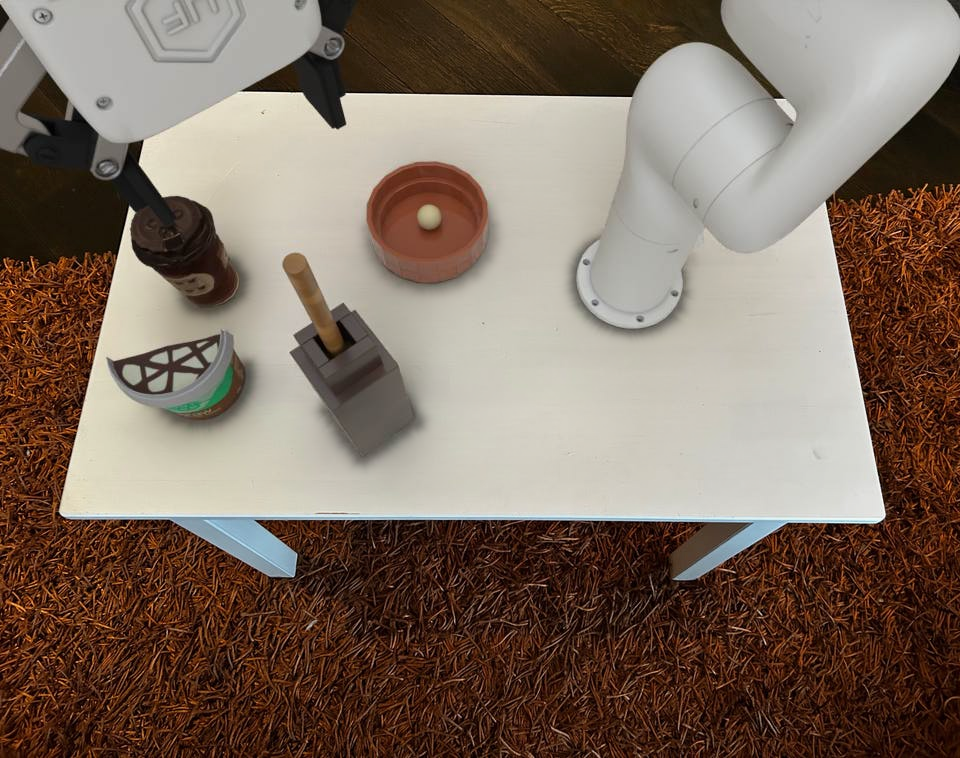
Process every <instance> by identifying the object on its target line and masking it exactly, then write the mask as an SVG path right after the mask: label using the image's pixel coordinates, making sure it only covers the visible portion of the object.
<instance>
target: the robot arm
mask: <svg viewBox="0 0 960 758" xmlns="http://www.w3.org/2000/svg"><path fill="white" fill-rule="evenodd" d="M358 2H359V0H0V6H1V7H2V8H3V10H4V11H5V13H6V14H7V16H8V19H7V22H6V23H5V24H4V25H3V27H2V29H1V30H0V150H4V151H7V152H10V153H12V154H15V155H16V154H19V155H22V156H25V157H28V159H29V160H30V161H31V162H32V163H33V164H34V165H38V166H42V167H49V168H61V169H68V170H77V171H87V172H91V173H92V175H93V176H94V177H95V178H96V179H97V180H101V181H109V183H110V184H111V185H112V186H113V188H114V189H115V190H116V191H117V192H118V194H119V195H120V196H121V197H122V198H123V200H124V201H125V202H126V203H127V204H128V206H129V208H131V209H132V211H133V212H134V214H135V213H136V212H138V211H140V210H142V209H143V208H145V207H147V206H149V207H150V208H151V209H152V211H153V212H154V213H155V215H156V216H157V217H158V218H159V220H160V221H161V222H162V224H163V225H164V226H165V227H166V228H167V227H169V226H171V225H172V224H174V223H175V221H174V220H175V219H177V217H176V215H175V214H174V213H173V211H172V210H171V208H170V207H169V206H168V204H167V203H166V201H165V200H164V199H163V197H164V196H162V194H161V193H160V191H159V190H158V188H157V187H156V186H155V184H154V183H153V182H152V180H151V179H150V177H149V176H148V175H147V174H146V172H145V171H144V169H143V168H142V166H141V165H140V164H139V162H138V161H137V160H136V158H135V156H133V154H132V153H131V151H130V149H129V144H131V143H137V142H141V141H144V140H147V139H150V138H153V137H155V136H157V135H159V134H161V133H163V132H166V131H167V130H169V129H171V128H173V127H176V126H177V125H179V124H181V123H183V122H185V121H187V120H189V119H191V118H193V117H194V116H196V115H198V114H200V113H202V112H204V111H206V110H208V109H210V108H211V107H213V106H215V105H217V104H219V103H220V102H223V101H224V100H227V99H229V98H230V97H232V96H234V95H236V94H238V93H239V92H241V91H243V90H245V89H247V88H248V87H250V86H252V85H254V84H256V83H257V82H260V81H262V80H264V79H265V78H267V77H268V76H271V75H272V74H274V73H276V72H278V71H279V70H282V69H284V68H285V67H287V66H288V65H290V64H293V67H294V69H295V73H296V76H297V79H298V83H299V86H300V89H301V92H302V94H303V96H304V97H305V99H306V100H307V102H308V103H309V104H310V105H311V106H312V108H314V110H316V112H317V113H318V114H319V116H320V117H321V118H322V119H323V121H325V123H326V124H327V125H328V126H329V127H330V129H332V130H334V129H336V130H340V129H342V128H343V127H346V125H347V119H346V116H345V113H344V109H343V104H342V100H341V98H343V97H345V96H346V92H347V91H346V87H345V84H344V80H343V79H344V78H343V76H342V72H341V66H340V63H339V59H338V57H339V56H340V55H341V54H342V53H343V51H344V49H345V45H346V43H345V39H344V37H343V36H342V33H343V31H344V30H345V27H346V25H347V24H348V21H349V19H350V17H351V15H352V13H353V11H354V9H355V7H356V5H357V3H358ZM720 16H721V21H722V24H723V26H724V28H725V30H726V32H727V34H728V36H729V38H731V40H732V41H733V43H734V44H735V45H736V46H737V47H738V49H739V50H740V51H741V52H742V53H743V55H744V56H745V57H746V58H747V59H748V61H749V62H750V63H751V64H752V65H754V67H755V68H756V69H757V70H758V71H759V72H760V73H761V75H763V76H764V78H765V79H766V80H767V81H768V82H769V83H770V84H771V86H773V87H774V89H775V90H776V91H777V92H778V93H780V95H781V96H782V98H784V99H785V100H786V101H787V103H788V104H789V105H790V106H791V107H792V108H793V109H794V111H795V113H796V114H795V120H793V119H792V118H791V117H790V116H789V115H788V114H787V113H786V111H785V110H783V108H782V107H781V106H780V105H779V104H778V102H777V101H776V99H775V98H774V97H773V96H772V95H771V94H770V93H769V92H768V91H767V89H765V88H764V87H763V85H762V84H761V83H760V82H759V81H758V80H757V79H756V78H755V77H754V76H753V74H752V73H750V71H749V70H748V69H747V68H746V67H745V66H744V65H743V64H742V63H741V62H740V61H738V60H737V59H736V58H735V57H734V56H733V55H731V54H730V53H729V52H727V51H726V50H724V49H722V48H721V47H718V46H716V45H713V44H710V43H706V42H701V41H700V42H694V41H693V42H687V43H682V44H680V45H677V46H675V47H673V48H671V49H669V50H667V51H666V52H664V53H663V54H661V55H660V56H659V57H658V58H657V59H656V60H655V61H654V62H652V64H651V65H650V66H649V67H648V68H647V69H646V70H645V72H644V73H643V75H642V76H641V78H640V80H639V82H638V84H637V85H636V88H635V89H634V92H633V94H632V96H631V100H630V103H629V108H628V113H627V119H626V128H625V151H624V152H625V153H624V160H623V165H622V169H621V173H620V176H619V180H618V183H617V186H616V189H615V192H614V195H613V198H612V201H611V204H610V207H609V210H608V214H607V216H606V220H605V222H604V226H603V228H602V229H603V230H602V232H601V236H600V239H597V240H596V241H594V242H593V243H592V244H590V246H588V248H587V249H586V250H585V251H584V253H583V254H582V256H581V258H580V260H579V262H578V266H577V269H576V275H575V282H576V288H577V293H578V295H579V297H580V299H581V301H582V302H583V304H584V306H585V307H586V309H588V310H589V312H590V313H592V314H593V315H594V316H595V317H596V318H598V319H599V320H601V321H603V322H604V323H606V324H609V325H611V326H614V327H617V328H622V329H630V330H631V329H637V330H639V329H643V328H649V327H652V326H654V325H657V324H658V323H660V322H661V321H664V320H665V319H666V318H667V317H668V316H669V315H670V314H672V313H673V311H674V309H675V308H676V307H677V305H678V303H679V301H680V300H681V297H682V293H683V285H684V279H683V274H682V269H683V267H684V266H685V264H686V262H687V260H688V259H689V257H690V255H691V253H692V251H693V250H695V249H696V248H697V247H699V246H701V245H702V244H703V243H704V241H705V239H704V235H703V232H704V231H705V229H706V230H707V231H708V232H709V233H710V235H711V236H712V237H714V239H715V240H716V241H717V242H718V243H719V244H720V245H721V246H723V247H724V248H726V249H728V250H729V251H731V252H734V253H738V254H746V255H747V254H754V253H758V252H761V251H763V250H766V249H768V248H770V247H772V246H774V245H775V244H777V243H778V242H780V241H781V240H782V239H784V238H786V237H787V236H788V235H790V234H791V233H792V232H793V231H794V230H796V229H797V228H798V227H799V226H800V225H802V223H803V222H805V221H806V220H807V219H808V218H809V217H810V216H811V215H812V214H813V213H814V212H816V211H817V210H818V209H819V208H820V207H821V206H822V205H823V204H824V203H825V202H826V201H827V200H828V199H829V198H830V197H831V196H832V195H833V194H835V192H837V190H838V189H839V188H841V186H843V184H845V183H846V182H847V181H848V180H849V179H850V178H851V177H852V176H853V175H854V174H855V173H856V172H857V171H858V170H859V169H861V168H862V167H863V165H865V164H866V163H867V162H868V160H870V159H871V158H872V157H873V156H874V155H875V154H876V153H877V152H878V151H879V150H880V149H881V148H883V146H884V145H885V144H886V143H888V142H889V141H890V140H891V139H892V138H893V137H894V136H895V135H896V134H897V133H898V132H899V131H900V130H901V129H902V128H903V127H904V126H905V125H906V124H907V123H908V122H910V121H911V119H912V118H913V117H914V116H916V114H917V113H919V111H920V110H921V109H922V108H923V107H924V106H925V105H926V104H927V103H928V102H929V101H930V100H931V98H933V96H934V95H935V94H936V93H937V91H938V90H939V89H940V88H941V86H942V85H943V84H944V83H945V82H946V80H947V78H948V77H949V75H950V74H951V72H952V70H953V68H954V67H955V65H956V63H957V61H958V59H959V57H960V16H959V14H958V12H957V11H956V10H955V8H954V7H953V6H952V4H951V3H950V2H949V1H948V0H721V4H720ZM47 73H48V74H49V76H50V77H51V79H52V80H53V81H54V83H55V84H56V85H57V86H58V87H59V89H60V90H61V92H62V93H63V94H64V96H65V97H66V98H67V99H68V101H67V105H66V111H65V118H64V119H63V118H58V117H52V116H46V115H40V114H34V113H23V112H22V111H21V110H22V108H23V107H24V105H25V104H26V102H27V101H28V100H29V98H30V97H31V95H32V94H33V93H34V91H35V90H36V88H37V87H38V86H39V84H40V83H41V82H42V80H43V79H44V78H45V76H46V74H47Z"/></svg>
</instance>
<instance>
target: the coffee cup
mask: <svg viewBox="0 0 960 758" xmlns="http://www.w3.org/2000/svg"><path fill="white" fill-rule="evenodd" d="M162 197H163V199H164V200H165V201H166V203H167V204H168V206H169V207H170V208H171V210H172V211H173V213H174V214H175V215H176V217H177V219H175V220H174V221H175V223H174V224H172V225H171V226H169V227H167V228H166V227H165V226H164V225H163V224H162V222H161V221H160V220H159V218H158V217H157V216H156V215H155V213H154V212H153V211H152V209H151V208H150V207H149V206H147V207H145V208H143V209H142V210H140V211H138V212H136V213H135V212H134V214H133V217H132V219H131V222H130V228H129V231H130V242H131V249H132V251H133V253H134V255H135V257H136V258H137V259H138V261H139V262H140V263H142V264H143V265H145V266H146V267H149V268H152V270H153V271H154V272H156V273H157V274H159V275H160V277H162V278H163V279H164V280H165V281H166V282H168V283H169V284H171V286H173V288H175V289H176V290H177V291H179V292H180V293H181V294H182V295H185V297H186V298H187V299H188V301H190V302H191V303H193V304H194V305H197V306H199V307H206V308H210V307H216V306H218V305H219V306H220V305H223V304H225V303H226V302H228V301H229V300H231V299H232V298H233V297H235V295H236V292H237V290H238V289H239V286H240V285H239V283H240V279H239V274H238V272H237V271H236V269H234V268H233V266H231V264H230V263H229V262H230V260H231V258H230V256H229V255H228V252H227V250H226V247H225V244H224V242H223V241H222V240H221V239H220V237H219V235H218V234H217V229H216V226H215V221H214V217H213V214H212V212H211V210H210V209H209V208H208V207H207V206H205V205H203V204H201V203H199V202H198V201H196V200H193V199H190V198H188V197H185V196H181V195H168V196H162Z"/></svg>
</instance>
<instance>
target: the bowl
mask: <svg viewBox="0 0 960 758" xmlns="http://www.w3.org/2000/svg"><path fill="white" fill-rule="evenodd" d="M424 205H434V206H436V207H437V208H438V209H439V210H440V212H441V216H442V219H441V223H440V225H439V226H438V227H437V228H435V229H433V230H426V229H424V228H422V227H421V226H420V225H419V223H418V221H417V213H418V211H419V209H420V208H421V207H423V206H424ZM488 206H489V205H488V200H487V197H486V195H485V193H484V190H483V188H482V187H481V185H480V183H478V181H476V179H475V178H474V177H473V176H472V175H471V174H470V173H468V172H466V171H464V170H462V168H459V167H457V166H456V165H454V164H449V163H445V162H442V161H435V160H434V161H433V160H432V161H429V160H427V161H415V162H412V163H409V164H408V163H407V164H404V165H402V166H399V167H397V168H396V169H394V170H392V171H391V172H389V173H387V174H386V175H384V176H383V177H382V178H381V180H379V182H378V183H377V184H376V185H375V186H374V187H373V189H372V191H371V193H370V196H369V198H368V200H367V203H366V213H365V214H366V215H365V220H366V224H367V225H366V226H367V228H368V232H369V236H370V239H371V243H372V246H373V248H374V251H375V254H376V257H377V258H378V259H379V260H380V261H381V263H382V264H383V265H384V266H385V268H387V270H389V271H391V272H392V273H394V274H396V275H398V276H399V277H400V278H403V279H406V280H410V281H412V282H413V281H414V282H418V283H440V282H441V283H442V282H443V281H447V280H450V279H454V278H456V277H459V276H460V275H462V274H463V273H464V272H466V271H467V270H470V268H472V267H473V266H474V265H475V264H476V262H477V261H478V259H479V258H480V257H481V256H482V255H483V252H484V250H485V247H486V244H487V241H488V234H489V233H488V231H489V230H488V229H489V207H488Z"/></svg>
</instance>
